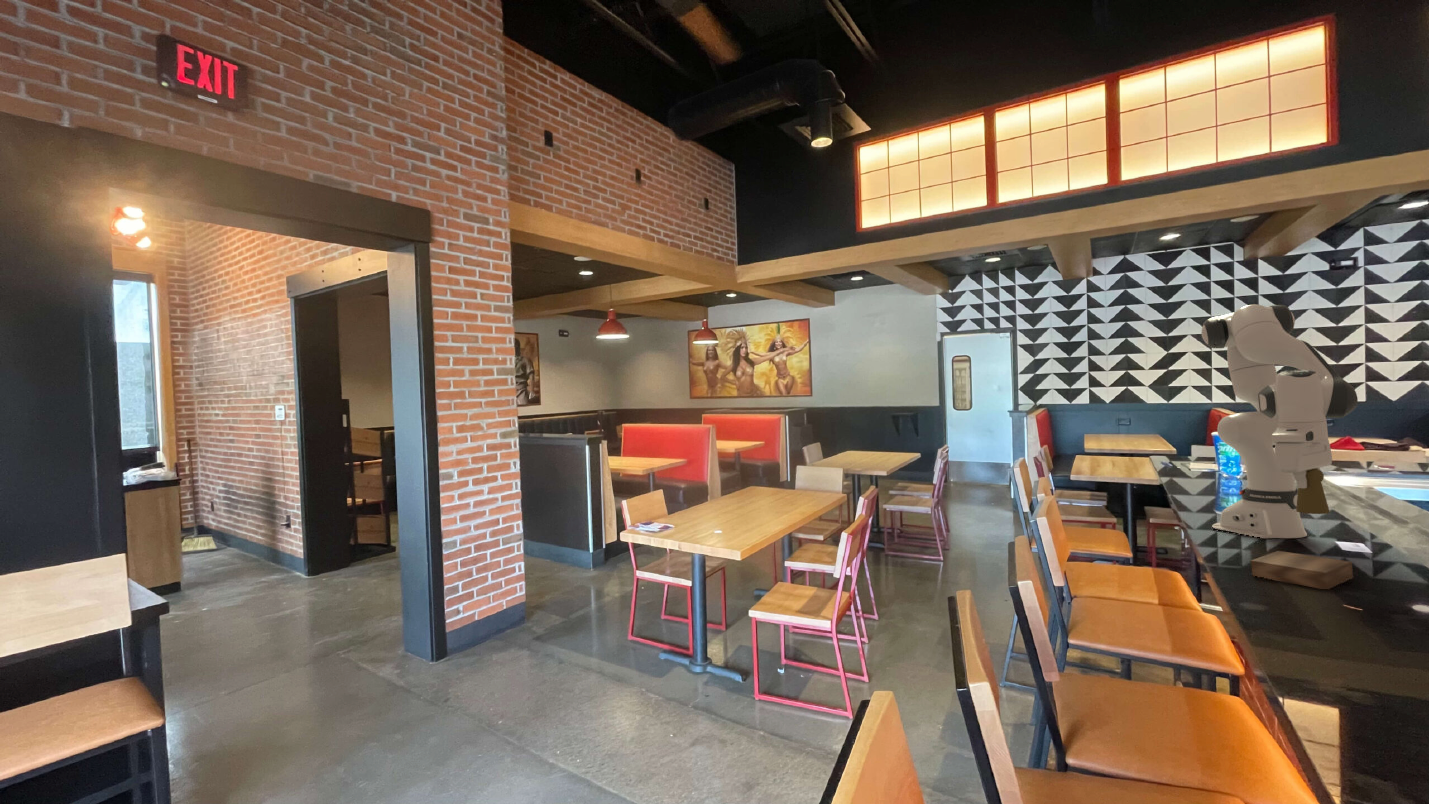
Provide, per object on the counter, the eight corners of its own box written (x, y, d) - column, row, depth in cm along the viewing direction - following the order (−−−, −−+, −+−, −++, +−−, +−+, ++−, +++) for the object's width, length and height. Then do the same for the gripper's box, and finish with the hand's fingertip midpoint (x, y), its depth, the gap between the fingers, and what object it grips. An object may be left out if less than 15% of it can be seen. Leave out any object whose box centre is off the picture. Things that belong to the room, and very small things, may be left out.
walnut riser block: (1252, 575, 150) (1251, 560, 150) (1279, 565, 156) (1277, 550, 156) (1326, 589, 138) (1325, 572, 138) (1353, 578, 144) (1351, 561, 144)
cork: (1314, 509, 152) (1309, 466, 152) (1337, 513, 146) (1332, 469, 146) (1289, 510, 153) (1285, 468, 153) (1311, 514, 147) (1306, 470, 147)
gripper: (1305, 429, 158) (1310, 481, 157) (1267, 436, 149) (1273, 490, 148) (1337, 429, 152) (1343, 482, 152) (1300, 436, 143) (1306, 492, 143)
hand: (1308, 486), depth 150 cm, fingers closed on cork, 4 cm apart
